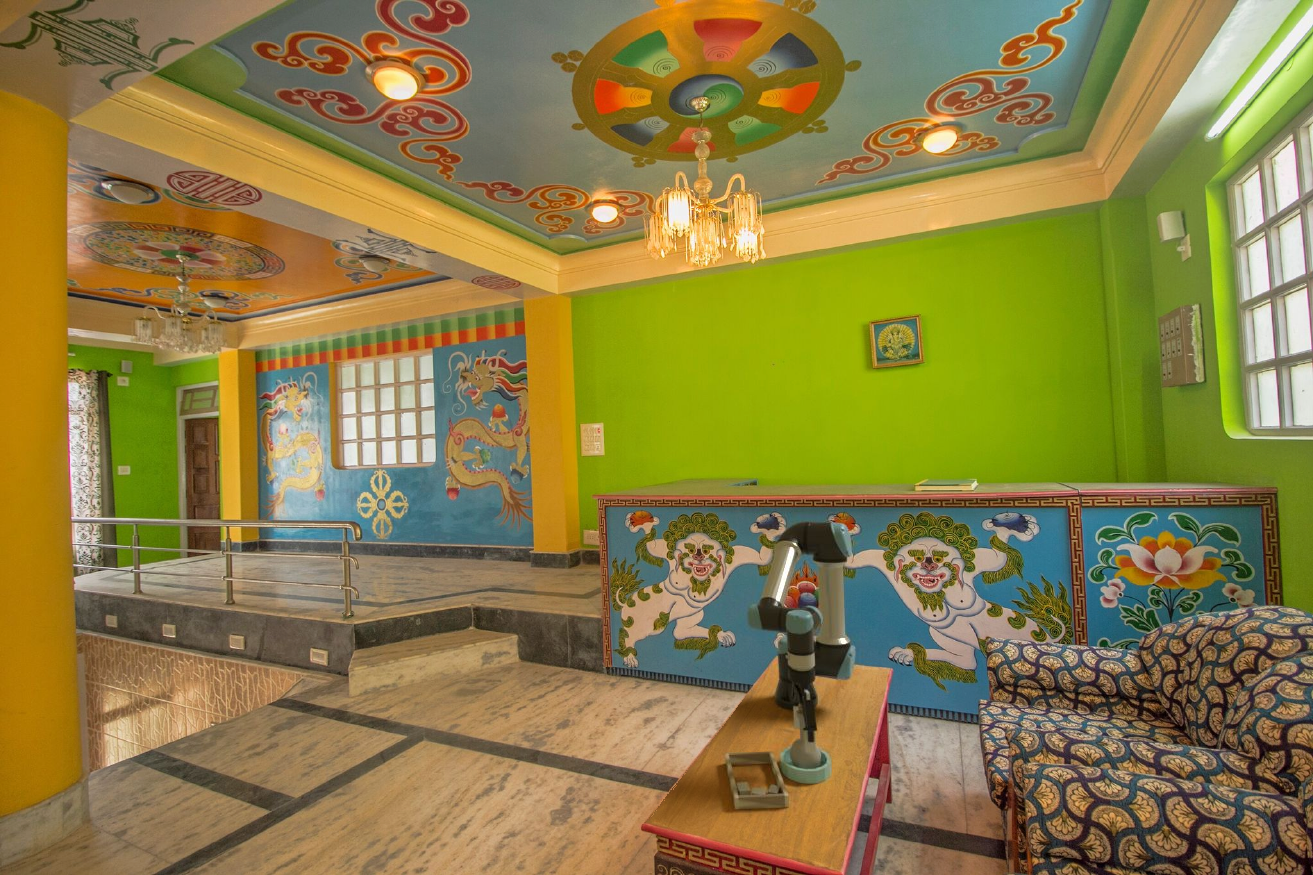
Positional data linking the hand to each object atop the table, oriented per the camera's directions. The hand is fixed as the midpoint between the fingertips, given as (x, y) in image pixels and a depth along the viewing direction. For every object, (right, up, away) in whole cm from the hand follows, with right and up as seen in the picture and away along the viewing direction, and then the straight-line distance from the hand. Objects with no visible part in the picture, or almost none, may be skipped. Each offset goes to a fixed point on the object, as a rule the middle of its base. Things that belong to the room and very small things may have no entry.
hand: (804, 739), depth 174 cm
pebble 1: (-15, -9, -13) cm, 22 cm away
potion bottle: (0, -8, 0) cm, 8 cm away
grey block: (-19, -10, -11) cm, 24 cm away
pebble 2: (-11, -9, -12) cm, 19 cm away
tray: (-15, -9, -6) cm, 19 cm away
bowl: (0, -9, 0) cm, 9 cm away
